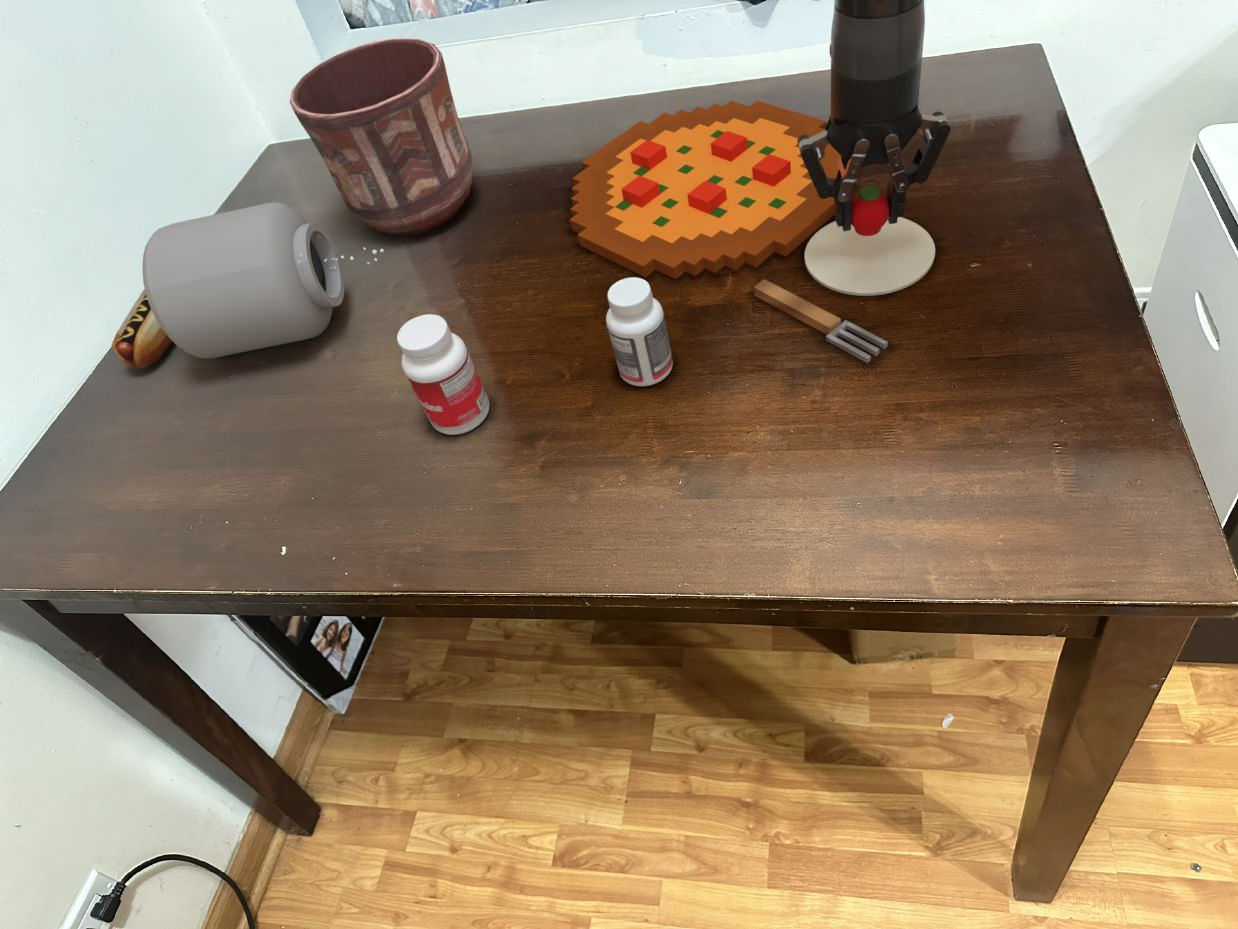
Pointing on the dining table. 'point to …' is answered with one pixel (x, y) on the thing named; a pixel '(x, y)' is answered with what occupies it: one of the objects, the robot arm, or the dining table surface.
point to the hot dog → (140, 336)
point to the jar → (242, 280)
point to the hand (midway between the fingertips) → (868, 222)
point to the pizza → (702, 190)
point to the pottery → (388, 134)
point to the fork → (820, 320)
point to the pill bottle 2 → (638, 333)
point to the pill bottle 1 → (442, 375)
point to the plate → (870, 258)
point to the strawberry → (869, 211)
